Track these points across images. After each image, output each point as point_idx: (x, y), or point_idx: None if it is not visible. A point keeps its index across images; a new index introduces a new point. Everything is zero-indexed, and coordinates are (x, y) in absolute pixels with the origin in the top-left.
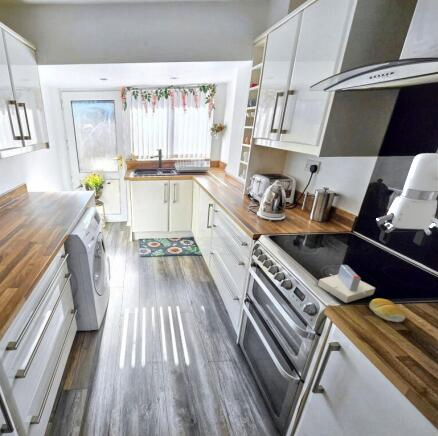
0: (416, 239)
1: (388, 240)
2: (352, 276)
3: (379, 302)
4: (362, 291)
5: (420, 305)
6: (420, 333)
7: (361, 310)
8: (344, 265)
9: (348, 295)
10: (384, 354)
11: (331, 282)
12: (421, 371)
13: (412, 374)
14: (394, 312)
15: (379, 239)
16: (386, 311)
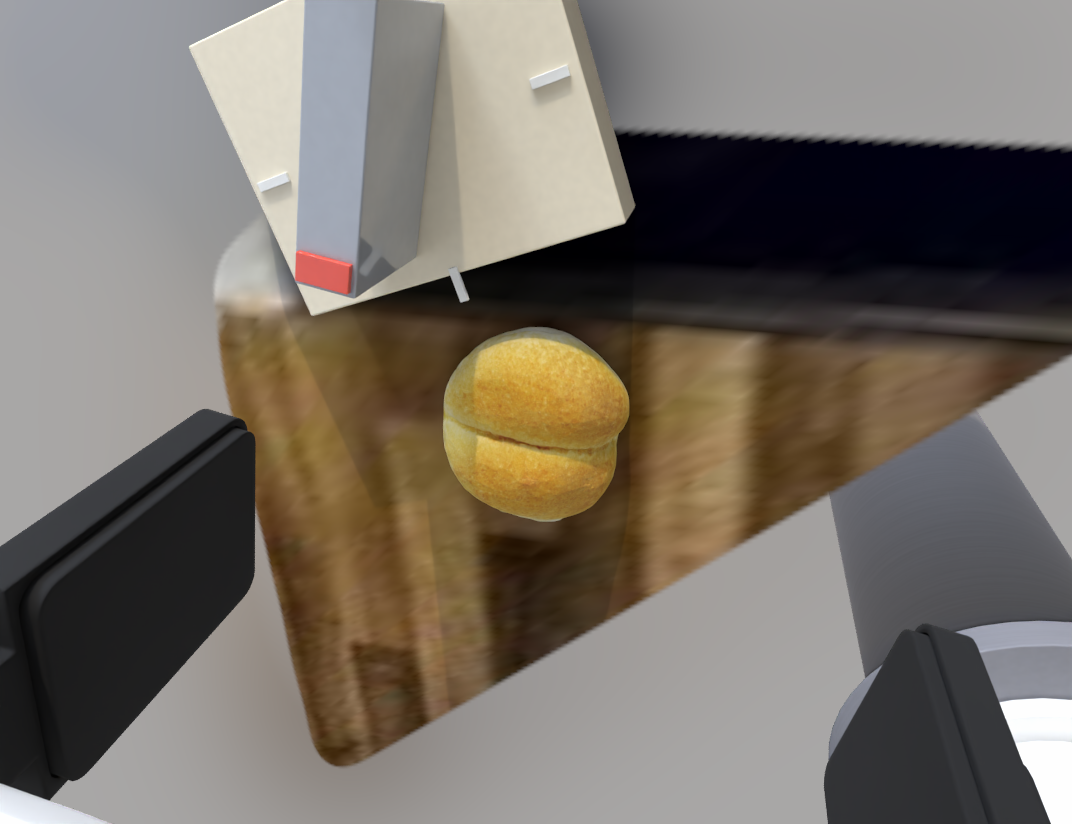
0: (892, 757)
1: (197, 638)
2: (296, 257)
3: (484, 412)
4: (464, 265)
5: (907, 370)
6: (599, 571)
7: (402, 374)
8: (336, 4)
9: (319, 306)
10: (314, 628)
11: (273, 110)
12: (399, 704)
13: (355, 705)
14: (501, 510)
15: (207, 410)
16: (466, 487)
